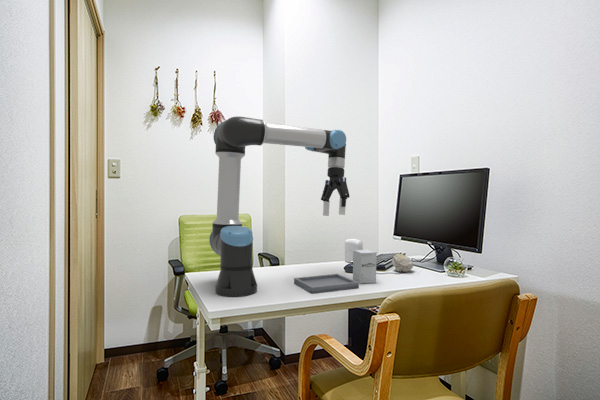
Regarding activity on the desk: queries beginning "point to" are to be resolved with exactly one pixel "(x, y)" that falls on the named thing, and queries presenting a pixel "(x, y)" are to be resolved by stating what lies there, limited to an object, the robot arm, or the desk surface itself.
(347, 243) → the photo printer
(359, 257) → the supplement box
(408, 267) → the fossil replica
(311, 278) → the tray
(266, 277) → the desk surface
